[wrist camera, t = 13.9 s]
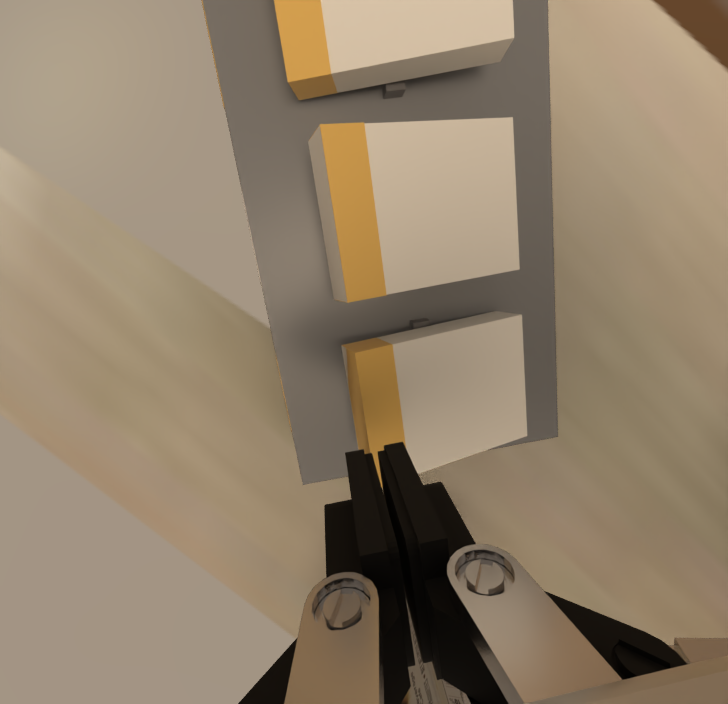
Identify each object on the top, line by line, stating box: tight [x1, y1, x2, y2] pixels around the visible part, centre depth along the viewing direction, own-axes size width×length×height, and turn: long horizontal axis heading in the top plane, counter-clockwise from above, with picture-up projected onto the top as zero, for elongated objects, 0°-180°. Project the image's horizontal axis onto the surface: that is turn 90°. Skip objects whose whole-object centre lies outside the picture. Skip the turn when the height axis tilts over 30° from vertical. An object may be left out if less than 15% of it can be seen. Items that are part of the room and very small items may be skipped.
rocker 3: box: [341, 311, 527, 487], centre depth 18 cm, size 8×6×2 cm
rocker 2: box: [308, 117, 520, 303], centre depth 16 cm, size 8×6×2 cm
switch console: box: [202, 0, 558, 485], centre depth 20 cm, size 14×25×7 cm, turn 8°
